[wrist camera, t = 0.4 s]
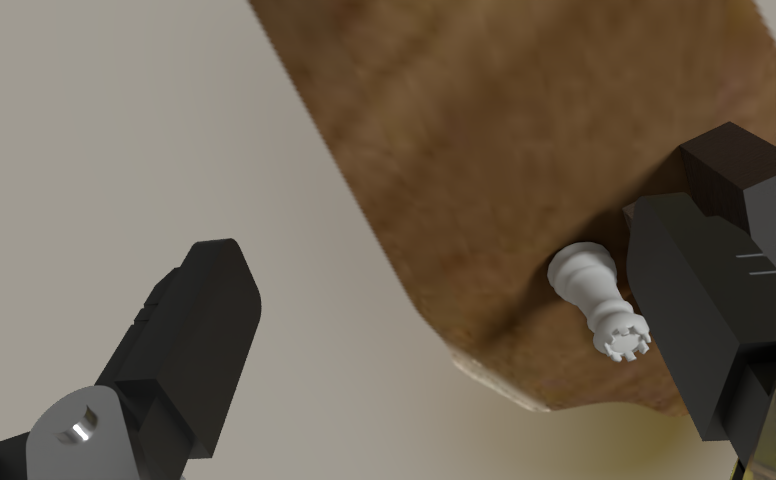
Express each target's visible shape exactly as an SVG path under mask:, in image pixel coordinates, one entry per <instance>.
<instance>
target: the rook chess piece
mask: <svg viewBox="0 0 776 480" xmlns="http://www.w3.org/2000/svg"><path fill="white" fill-rule="evenodd" d="M616 276H617V270H616V266H615V262H614V260H613V259H612V258H611V257H610V253H609V252H608V251H607V250H606V249H605V248H604V247H603V246H602V245H599V244H596V243H593V242H581V243H574V244H571V245H569V246H566V247H564V248H563V249H562V250H561V251H559V252H558V253H557V254H556V255H555V257H554V258H553V260H552V262H551V263H550V265H549V268H548V274H547V277H548V279H549V282H550V285H551V286H552V287H554V289H555V292H556V293H557V294H558V295H560V296H561V297H562V298H563V299H564V300H565V301H569V302H571V303H572V304H574V305H577V306H578V307H579V309H580V310H581V311H582V312H583V313H584V315H585V316H586V317H587V319H588V320H587V324H588V328H589V329H590V330H591V331H593V332H594V333H595V334H594V338H593V343H594V346H595V348H596V349H597V350H599V351H600V352H601V353H605V354H607V356H610V357H611V359H612V360H613V361H616V362H620V361H621V359H622V358H621V357H620V356H625V357H626V359H627V361H628V362H629V361H632V360H635V359H636V357H635V356H634V354H633V353H634V352H636V351H637V350H639V351H640V353H642V354H645V352H646V351H647V350H648V349H649V347H648V346H647V345H646V343H649V342H651V339H650V336H649V334H648V332H649V327H648V325H647V323H646V321H645V319H644V317H643V316H640V315H637V314H633V313H634V312H633V308H632V306H631V305H630V304H629V303H628V302H626V301H624V300H623V299H622V297H621V295H620V293H619V291H618V289H617V286H616V283H617V279H616ZM645 342H646V343H645Z"/></svg>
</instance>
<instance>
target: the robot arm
mask: <svg viewBox="0 0 776 480" xmlns="http://www.w3.org/2000/svg"><path fill="white" fill-rule="evenodd" d="M626 268H627V277H628V282H629V286H630V289H631V291H632V294H633V296H634V298H635V300H636V302H637V304H638V306H639V308H640V310H641V313H642V315H643V317H644V319H645V321H646V323H647V325H648V327H649V329H650V331H651V334H652V336H653V338H654V340H655V342H656V344H657V346H658V348H659V350H660V353H661V355H662V357H663V359H664V361H665V363H666V365H667V367H668V369H669V371H670V374H671V376H672V378H673V380H674V382H675V384H676V386H677V388H678V390H679V392H680V395H681V397H682V399H683V401H684V403H685V405H686V407H687V409H688V411H689V413H690V415H691V418H692V420H693V422H694V424H695V426H696V428H697V430H698V432H699V434H700V437H701V438H702V441H721V440H730V442H731V444H732V446H733V448H734V449H735V451H736V453H737V455H738V459H737V461H736V463H735V465H734V467H733V470H732V473H731V476H730V480H776V267H775V266H774V264H773V263H772V262H771V261H770V260H769V259H768V257H767V256H763V251H762V250H761V249H760V248H759V247H758V246H757V244H756V243H755V242H754V241H753V240H752V239H751V237H750V236H749V235H748V234H747V233H746V232H745V231H744V230H742V229H740V228H738V227H737V226H735V225H733V224H732V223H730V222H728V221H727V220H725V219H723V218H722V217H720V216H711V217H705V216H704V214H703V213H702V212H701V210H700V209H699V208H698V207H697V205H696V204H695V203H694V201H693V200H692V199H691V197H690V196H689V195H688V194H687V193H685V192H678V193H669V194H659V195H650V196H640V197H639V198H638V199H637V201H636V204H635V208H634V215H633V221H632V228H631V234H630V241H629V247H628V254H627V262H626ZM260 317H261V297H260V293H259V290H258V288H257V286H256V284H255V281H254V279H253V277H252V274H251V272H250V270H249V267H248V265H247V263H246V260H245V258H244V256H243V254H242V251H241V249H240V247H239V245H238V244H237V242H236V241H235V240H234V239H231V238H230V239H220V240H210V241H202V242H196V243H195V244H194V245H193V246H192V247H191V249H190V251H189V252H188V254H187V256H186V258H185V259H184V261H183V263H182V265H181V266H180V267H178V268H174V269H173V270H172V271H171V272H170V273H168V274H167V275H166V276H165V277H164V278H163V279H162V280H161V281H160V282H159V283H158V284H156V285H155V287H154V289H153V290H152V292H151V294H150V295H149V297H148V298H147V300H146V302H145V303H144V308H142V309H141V310H140V311H139V313H138V315H137V316H136V318H135V320H134V325H131V326H130V328H129V329H128V331H127V333H126V334H125V336H124V337H123V339H122V341H121V342H120V344H119V346H118V347H117V349H116V350H115V352H114V354H113V355H112V357H111V359H110V360H109V362H108V363H107V365H106V367H105V368H104V370H103V372H102V373H101V375H100V376H99V378H98V380H97V381H96V383H95V385H94V386H89V387H85V388H82V389H79V390H77V391H74V392H73V393H70V394H68V395H67V396H65V397H64V398H62V399H60V400H59V401H57V402H56V403H55V404H53V405H52V406H51V407H50V408H49V409H48V410H47V411H46V412H45V413H44V414H43V415H42V416H41V417H40V418H39V419H38V421H37V422H36V423H35V425H34V426H33V428H32V429H31V431H30V432H27V433H24V434H21V435H18V436H15V437H12V438H9V439H6V440H3V441H0V480H185V478H184V477H183V475H182V473H183V470H184V468H185V465H186V463H187V460H188V459H201V458H212V456H213V453H214V450H215V448H216V445H217V442H218V439H219V436H220V433H221V430H222V427H223V424H224V422H225V418H226V416H227V413H228V410H229V407H230V404H231V401H232V399H233V395H234V393H235V390H236V387H237V384H238V381H239V378H240V376H241V373H242V370H243V367H244V364H245V361H246V358H247V355H248V352H249V350H250V347H251V344H252V341H253V338H254V335H255V332H256V329H257V326H258V323H259V321H260Z"/></svg>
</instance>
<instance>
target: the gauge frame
mask: <svg viewBox="0 0 776 480" xmlns="http://www.w3.org/2000/svg"><path fill="white" fill-rule="evenodd" d="M680 149H681V153H682V157H683V161H684V165H685V170H686V174H687V178H688V182H689V186H690V190H691V194H692V198H693V201H694V203H695V204H696V205H697V207H698V208H699V209H700V210H701V212H702V213H703V214H704V216H705V217H711V216H720V217H722V218H723V219H725V220H727V221H728V222H730V223H732V224H733V225H735V226H737V227H738V228H740V229H742V230H744V231H745V232H746V233H747V234H748V235H749V236H750V237H751V239H752V240H753V241H754V242H755V243H756V244H757V246H758V247H759V248H760V249H761V250H762V251H763V256H767V257H768V259H769V260H770V261H771V262H772V263H773V264H774V266H775V267H776V146H774V145H772V144H770V143H768V142H767V141H765V140H763V139H761V138H759V137H757V136H756V135H754V134H752V133H750V132H748V131H746V130H745V129H743V128H741V127H739V126H737V125H736V124H734V123H732V122H728V123H726V124H724V125H721V126H719V127H717V128H715V129H713V130H711V131H709V132H707V133H705V134H703V135H700V136H698V137H696V138H694V139H692V140H690V141H688V142H686V143H684V144H681V145H680Z"/></svg>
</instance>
